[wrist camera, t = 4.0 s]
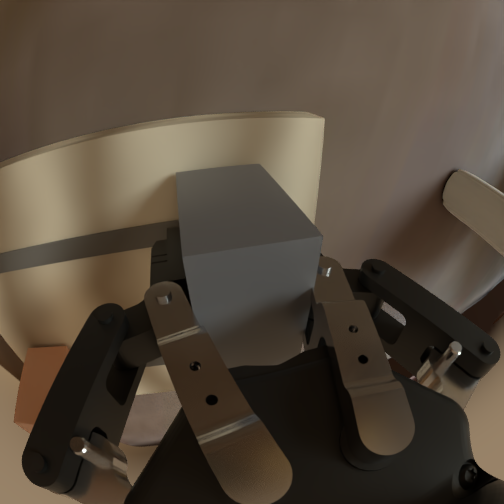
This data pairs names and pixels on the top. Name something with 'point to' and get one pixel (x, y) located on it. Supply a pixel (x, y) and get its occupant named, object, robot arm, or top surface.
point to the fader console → (123, 213)
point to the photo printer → (476, 206)
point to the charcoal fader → (247, 262)
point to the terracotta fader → (37, 382)
